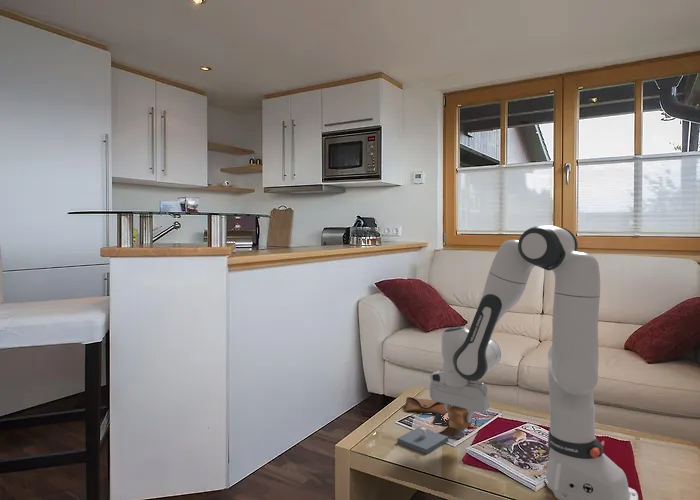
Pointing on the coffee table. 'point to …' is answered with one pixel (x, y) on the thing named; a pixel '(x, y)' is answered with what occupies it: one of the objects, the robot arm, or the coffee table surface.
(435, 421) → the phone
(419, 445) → the carrier plate
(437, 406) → the sunglasses case
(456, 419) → the block
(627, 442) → the coffee table surface
